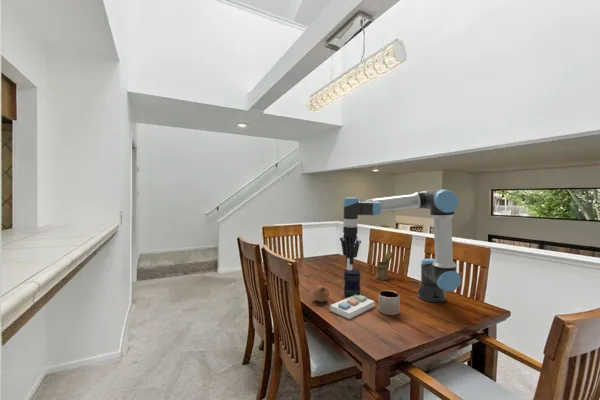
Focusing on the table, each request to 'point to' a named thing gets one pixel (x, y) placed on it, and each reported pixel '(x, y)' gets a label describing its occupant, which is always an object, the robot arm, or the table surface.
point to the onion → (321, 293)
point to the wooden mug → (383, 268)
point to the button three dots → (353, 301)
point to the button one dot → (344, 305)
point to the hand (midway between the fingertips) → (349, 269)
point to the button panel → (352, 308)
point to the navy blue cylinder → (351, 282)
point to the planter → (389, 302)
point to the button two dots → (361, 298)
